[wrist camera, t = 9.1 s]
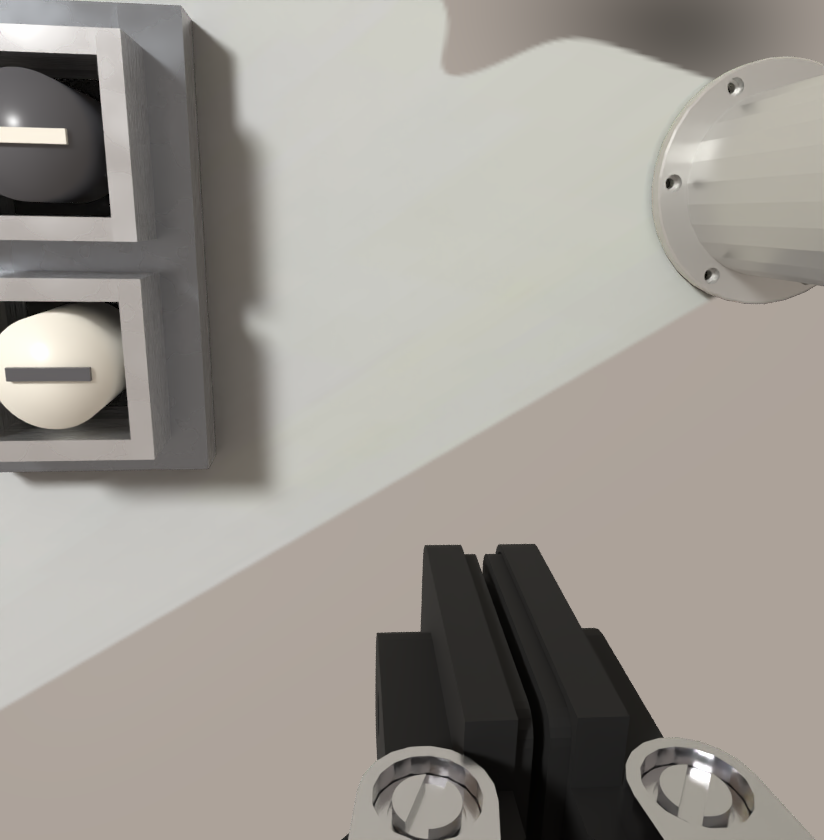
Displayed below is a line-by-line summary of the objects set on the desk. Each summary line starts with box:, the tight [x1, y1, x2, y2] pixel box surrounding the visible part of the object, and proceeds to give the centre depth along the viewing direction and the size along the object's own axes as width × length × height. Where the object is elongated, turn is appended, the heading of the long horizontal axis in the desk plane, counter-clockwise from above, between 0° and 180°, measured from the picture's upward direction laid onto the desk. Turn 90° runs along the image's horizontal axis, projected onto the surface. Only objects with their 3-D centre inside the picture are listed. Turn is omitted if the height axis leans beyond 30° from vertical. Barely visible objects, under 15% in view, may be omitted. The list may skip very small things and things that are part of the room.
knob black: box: [0, 67, 109, 203], centre depth 33 cm, size 5×5×6 cm
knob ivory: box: [0, 302, 126, 429], centre depth 36 cm, size 5×5×6 cm
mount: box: [0, 0, 216, 472], centre depth 35 cm, size 12×22×6 cm, turn 179°
